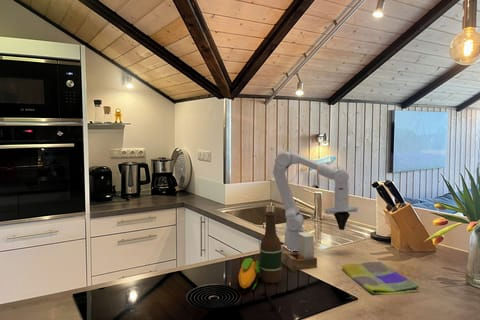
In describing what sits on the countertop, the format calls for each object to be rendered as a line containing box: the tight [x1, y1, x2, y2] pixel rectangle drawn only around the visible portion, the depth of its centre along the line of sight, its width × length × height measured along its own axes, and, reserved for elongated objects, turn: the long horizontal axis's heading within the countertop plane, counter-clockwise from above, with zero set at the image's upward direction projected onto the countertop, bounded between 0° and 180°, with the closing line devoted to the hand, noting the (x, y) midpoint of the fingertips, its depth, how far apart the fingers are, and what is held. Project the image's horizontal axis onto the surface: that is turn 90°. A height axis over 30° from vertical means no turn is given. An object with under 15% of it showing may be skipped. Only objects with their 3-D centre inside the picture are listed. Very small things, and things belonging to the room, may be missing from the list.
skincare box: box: [298, 231, 315, 259], centre depth 144 cm, size 6×4×12 cm
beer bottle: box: [259, 211, 283, 284], centre depth 129 cm, size 8×8×24 cm
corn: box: [238, 257, 260, 290], centre depth 126 cm, size 7×8×20 cm
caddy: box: [281, 249, 318, 272], centre depth 144 cm, size 12×10×4 cm
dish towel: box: [341, 260, 420, 296], centre depth 128 cm, size 18×24×3 cm
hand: (341, 229), depth 156 cm, fingers closed
